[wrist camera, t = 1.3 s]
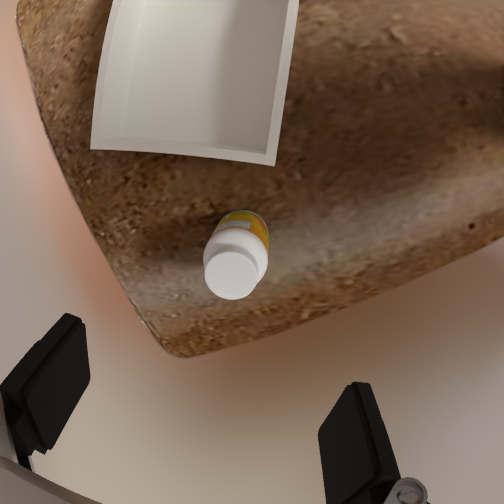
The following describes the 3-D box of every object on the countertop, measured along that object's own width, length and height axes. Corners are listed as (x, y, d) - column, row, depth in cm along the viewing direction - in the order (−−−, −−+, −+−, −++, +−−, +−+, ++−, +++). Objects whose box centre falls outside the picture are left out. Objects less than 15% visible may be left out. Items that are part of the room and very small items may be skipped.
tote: (300, -21, 21) (306, -49, 16) (274, 159, 29) (274, 166, 23) (149, -24, 21) (127, -47, 16) (120, 144, 29) (90, 149, 23)
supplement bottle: (269, 258, 33) (267, 308, 24) (218, 258, 33) (199, 307, 24) (268, 208, 31) (266, 242, 22) (214, 209, 31) (191, 243, 22)
